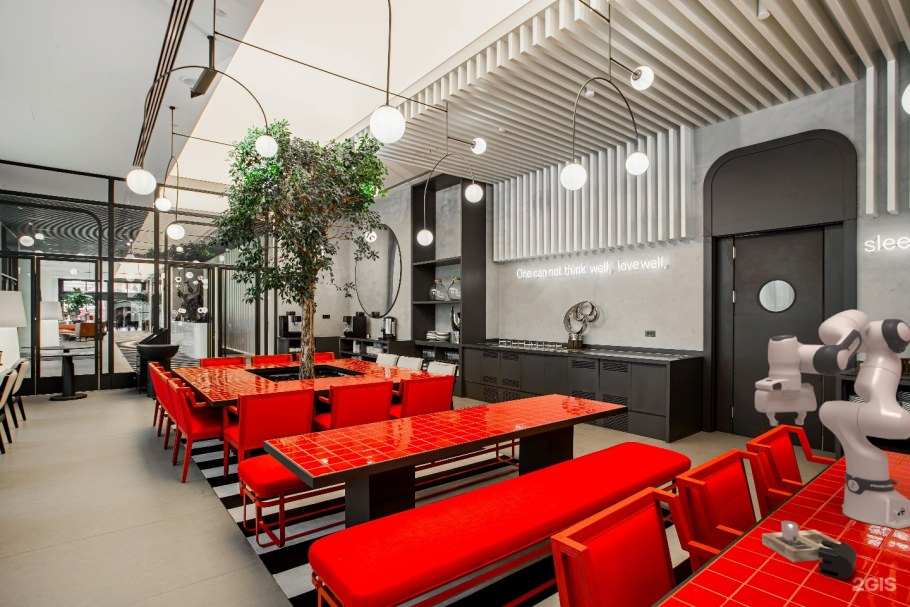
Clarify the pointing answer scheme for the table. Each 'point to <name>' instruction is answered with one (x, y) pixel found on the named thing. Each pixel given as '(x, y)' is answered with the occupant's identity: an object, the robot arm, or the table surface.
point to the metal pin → (790, 533)
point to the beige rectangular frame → (804, 550)
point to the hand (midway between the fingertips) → (786, 425)
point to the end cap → (837, 559)
